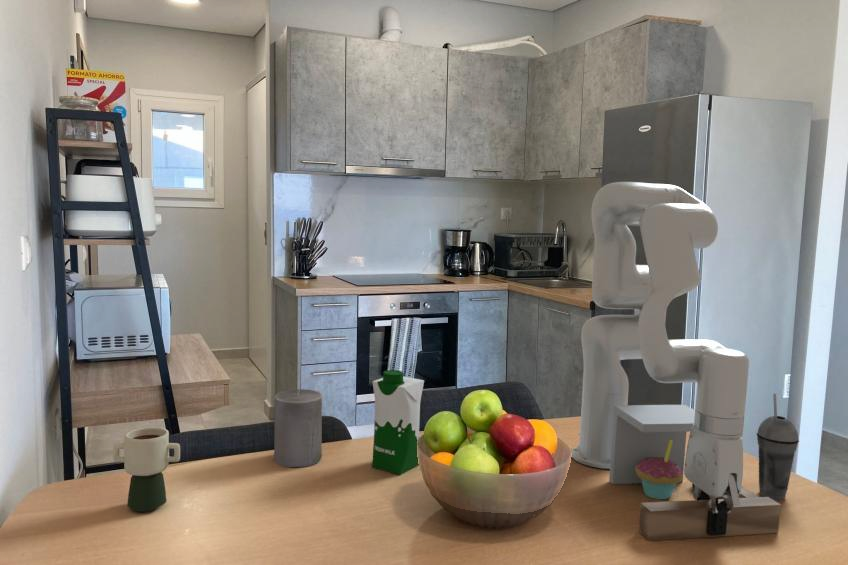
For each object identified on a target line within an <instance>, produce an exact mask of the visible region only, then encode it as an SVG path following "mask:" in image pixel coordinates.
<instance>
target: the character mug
mask: <svg viewBox="0 0 848 565" xmlns="http://www.w3.org/2000/svg"><path fill="white" fill-rule="evenodd" d="M169 437H170V433H169V430H168V429H166V428H164V427H158V426H147V427H141V428H135V429H131V430H129V431H127V432H126V433H124V437H123V442H121V443H120V442H119V443H114V444H113V447H112V448H113V449H112V450H113V451H112V452H113V453H112V454H113V456H112V457H113V462H115V463H124V464H123V465H124V470H125V472H126V474H128V475H131V477H130V482H129V490H128V495H127V496H128V497H127V505H126V506H127V507H128V508H129V509H130V510H132V511H136V512H148V511H151V510H155V509H157V508H160V507H161V506H163V505H165V503H167V491H166V483H165V477H164V474H163V472H164V471H165V470H167V468H168V466H169V463H177V462H179V461H180V460H181V444H180V443H177V442H169V440H170V438H169ZM172 449H173V454H174V455H173V456H170V450H172ZM120 450H123V456H120Z"/></svg>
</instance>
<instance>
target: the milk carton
mask: <svg viewBox="0 0 848 565" xmlns="http://www.w3.org/2000/svg"><path fill="white" fill-rule="evenodd" d="M424 383H425V380H423V379H419V378H413V377H407V376H404V372H403V371H401V370H396V369H394V370H393V369H387V370H384V371H383V372H382V377H381V378H378V379H375V380H373V381H372V387H373V388H372V389H373V395H374V417H373V418H374V420H373V422H374V425H373V444H372V445H373V446H372V451H373V452H372V460H371V461H372V463H371V467H372V468H375V469H377V470H381V471H385V472H389V473H391V474H395V475H399V476H401V475H403V474H404V473H406V472H408V471H410V470H412V469H414V468H416V467H418V466H420V463H419V464H418V457H417V441H418V439H420V415H421V413H420V412H421V400H422V394H423V389H424V385H425V384H424Z"/></svg>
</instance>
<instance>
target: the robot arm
mask: <svg viewBox="0 0 848 565" xmlns="http://www.w3.org/2000/svg"><path fill="white" fill-rule="evenodd" d="M590 214H591V224H592V232H593V236H594V251H593V252H594V253H593V265H592V279H591V282H592V283H591V296H592V300H593V302H594V304H595V305H596V306H598V307H600V308H603V309H609V310H610V309H611V310H634V313H633V314H600V315H596V316H593V317H592V316H591V317H590V318H588V319H587V320H586V321H585V322H584V324H583V325H582V328H581V331H580V332H581V333H580V340H581V347H582V358H583V359H582V360H583V374H582V380H583V381H582V392H581V393H582V395H581V407H580V408H581V409H580V410H581V411H580V423H579V424H580V425H579V433H578V436H579V443H578V445H576V446H574V447H573V448H572V449H571V451H572V456H571V458H572V459H573V460H575V461H576V462H577V463H579V464H582V465H585V466H588V467H592V468H596V469H604V470H610V463H611V448H612V433H613V418H614V405H629V404H628V402H629V399H628V398H629V388H630V387H629V386H630V384H629V378H628V377H629V376H628V375H627V373H626V371H625V370H624V367H623V366H622V364H621V361H623V360H624V361H625V360H642V361H643V365H644V368H645V371H646V372H647V374H648V375H649V377H650V378H651V379H653V380H654V381H655V382H657V383H663V384H682V383H683V384H684V383H697V385H696V396H695V406H694V407H695V408H694V410H695V416H694V424H693V425H692V428H691V431H690V432H689V434H688V440H687V446H686V450H685V458H684V471H683V476H684V477H685V479H687V480H688V481H689V482H690V483H691V486H692V488H693V494H692V498H693V500H711V511H708V522H707V534H708V535H710V536H712V535H725V534H726V527H727V516H728V513H730V510H731V509H733V508H738V507H740V501H739V495H740V492H741V488H742V486H743V478H744V476H743V474H744V447H743V446H744V445H743V438H742V437H743V434H744V433H743V432H744V423H745V414H746V412H745V411H746V402H747V400H746V399H747V392H748V391H747V389H748V378H749V370H750V369H749V368H750V359H749V357H748V355H747V354H746V353H744V352H743V351H740V350H738V349H733V348H727V347H725V346H724V345H723V344H720V343H719V342H718V341H715V340H713V339H705V338H701V339H700V338H699V339H698V338H696V339H694V338H693V339H689V338H687V339H686V338H682V339H681V338H680V339H679V338H677V339H676V338H675V339H669V338H668V334H667V328H666V317H667V310H668V306H669V305H670V303H671V302H672V301H673V300H674V299H676V298H677V297H680V296H682V295H683V296H684V294H688V293H689V292H691V291H693V290H694V289H696V288H697V287H698V286H699V285H700V283H701V280H702V279H701V274H700V270H699V266H698V262H697V257H696V253H695V249H698V250H699V249H705V248H708V247H710V246H712V244H713V243H714V242H715V241H716V240H717V236H718V232H719V226H718V224H719V223H718V221H717V218H716V215H715V213H714V211H712V209H711V208H710V207H709V206H708V205H707V204H705V202H703V201H702V200H700V199H698V198H697V197H695V196H694V195H693V194H691V193H689V192H687V190H684V189H683V188H681V187H680V186H677V185H674V184H668V183H667V184H666V183H652V182H651V183H649V182H641V181H639V182H638V181H616V182H611V183H607V184H605V185H603V186H602V187H601V188H600V189H598V191H597V192H596V194H595V196H594V198H593V200H592V205H591V213H590ZM628 225H639V230H640V235H641V239H642V244H643V250H644V254H645V258H646V259H645V260H646V263H647V264H636V259H637V258H636V256H637V243H636V239H635V237H634V234H633V233H632V231H631V229H630V228H629V227H628ZM720 498H723V501H721V502H720V503H719V504H718V499H720Z"/></svg>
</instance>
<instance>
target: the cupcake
mask: <svg viewBox="0 0 848 565" xmlns="http://www.w3.org/2000/svg"><path fill="white" fill-rule="evenodd" d="M672 439H673V436H672V438H671V439H669V443H668V447H667V451H666V455H665V457H650V458H649V457H647V458H645V459H643V460H641V461H639V462H638V463H637V465H636V467H635V471H636V474H637V476H638V477H639V478H641V481H642V483H641V484H642V487H643V492H644V494H645V495H646V496H648V497H650V498H652V499H656V500H668V499H670V498H671V496H672V493H673V491H674V489H675V487H676V485H679V483H682V482H681V481H682V476H683V477H684V471H682V470H681V468H679V466H678V465H677V464H675V463H674V462H673V461H671V460H670V459H668V458H669V454H670V450H671V446H672V442H673V440H672ZM682 472H683V473H682Z"/></svg>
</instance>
